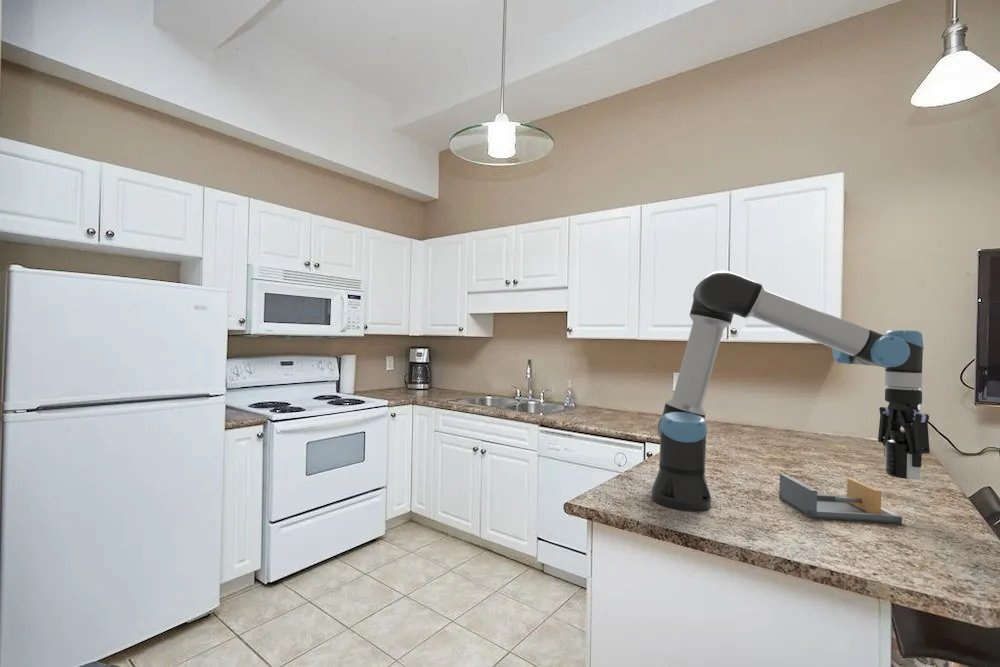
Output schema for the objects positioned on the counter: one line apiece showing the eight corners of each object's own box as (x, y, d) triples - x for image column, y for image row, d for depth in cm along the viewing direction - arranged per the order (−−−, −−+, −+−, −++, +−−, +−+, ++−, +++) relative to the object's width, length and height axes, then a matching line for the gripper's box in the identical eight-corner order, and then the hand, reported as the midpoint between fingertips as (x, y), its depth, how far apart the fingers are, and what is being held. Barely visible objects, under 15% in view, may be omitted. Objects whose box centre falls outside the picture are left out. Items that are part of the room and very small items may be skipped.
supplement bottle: (908, 473, 127) (909, 429, 127) (925, 481, 120) (926, 434, 120) (879, 471, 128) (880, 427, 128) (894, 478, 122) (895, 432, 122)
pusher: (849, 514, 120) (850, 489, 120) (824, 500, 131) (825, 477, 131) (880, 516, 120) (881, 491, 120) (852, 501, 130) (853, 478, 130)
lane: (810, 518, 119) (811, 490, 119) (779, 498, 134) (780, 473, 134) (901, 523, 117) (902, 495, 117) (860, 503, 132) (860, 478, 132)
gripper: (951, 392, 114) (949, 487, 114) (889, 385, 134) (888, 465, 134) (918, 391, 115) (917, 485, 115) (862, 384, 135) (861, 464, 134)
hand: (901, 474), depth 124 cm, fingers closed on supplement bottle, 7 cm apart
